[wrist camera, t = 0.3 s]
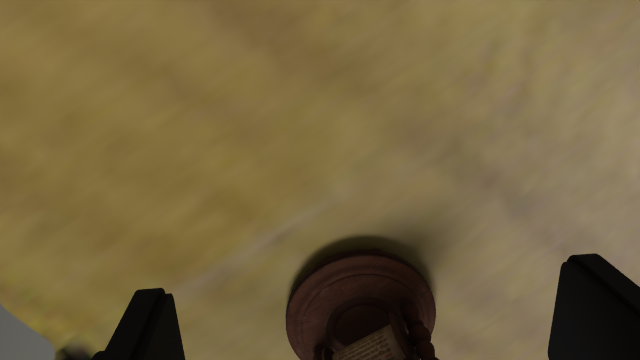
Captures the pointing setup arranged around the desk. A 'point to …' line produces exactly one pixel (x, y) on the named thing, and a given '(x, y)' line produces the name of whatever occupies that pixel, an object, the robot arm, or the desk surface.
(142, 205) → the desk surface
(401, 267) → the brown jointed stand
